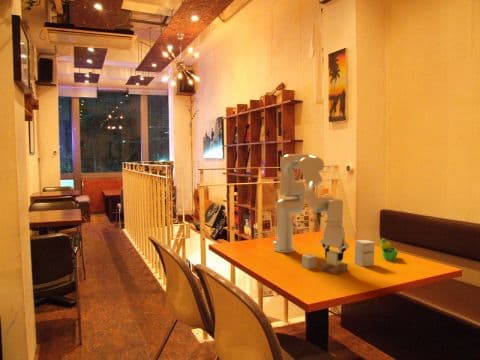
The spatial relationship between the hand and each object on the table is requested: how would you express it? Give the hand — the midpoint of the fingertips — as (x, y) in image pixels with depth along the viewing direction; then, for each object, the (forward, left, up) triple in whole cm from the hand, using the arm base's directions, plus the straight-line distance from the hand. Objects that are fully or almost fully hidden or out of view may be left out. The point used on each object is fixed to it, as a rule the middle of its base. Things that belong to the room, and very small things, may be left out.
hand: (333, 258), depth 191 cm
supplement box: (+6, +21, -6) cm, 23 cm away
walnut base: (0, 0, -7) cm, 7 cm away
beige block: (0, 0, -3) cm, 3 cm away
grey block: (-12, -4, -6) cm, 14 cm away
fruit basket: (+10, +42, -6) cm, 44 cm away
